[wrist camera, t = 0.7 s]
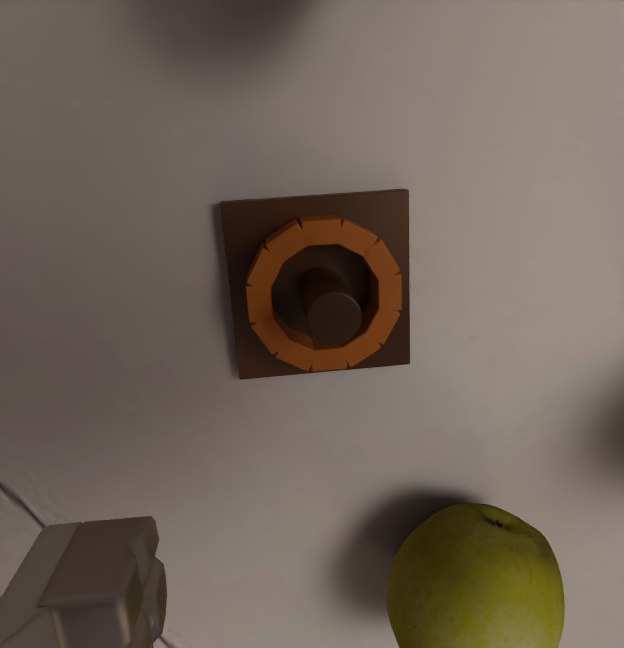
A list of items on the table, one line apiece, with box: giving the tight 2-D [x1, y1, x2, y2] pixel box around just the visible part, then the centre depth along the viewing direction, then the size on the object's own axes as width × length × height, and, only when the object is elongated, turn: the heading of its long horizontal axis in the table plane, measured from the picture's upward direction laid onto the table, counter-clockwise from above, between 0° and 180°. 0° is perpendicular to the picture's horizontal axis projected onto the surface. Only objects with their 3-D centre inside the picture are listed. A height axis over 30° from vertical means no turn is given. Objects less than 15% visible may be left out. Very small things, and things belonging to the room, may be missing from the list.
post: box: [220, 189, 410, 379], centre depth 22 cm, size 8×8×6 cm
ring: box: [246, 214, 402, 371], centre depth 23 cm, size 6×6×2 cm
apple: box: [386, 503, 564, 648], centre depth 25 cm, size 8×9×8 cm
